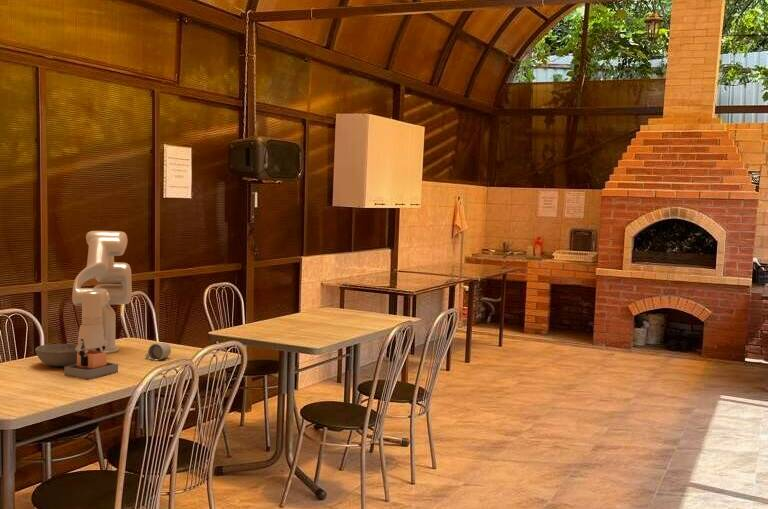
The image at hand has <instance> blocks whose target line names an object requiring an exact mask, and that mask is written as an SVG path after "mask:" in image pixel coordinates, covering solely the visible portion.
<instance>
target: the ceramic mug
mask: <svg viewBox="0 0 768 509" xmlns="http://www.w3.org/2000/svg"><path fill="white" fill-rule="evenodd" d="M171 351H172V348H171V346H170V345H169V343H167V342H158V343H157V342H156V343H152V344H151V345H150V346H149V348H148V349H147V354H145V355H144V357H145V359H150V360H152V361H154V360H155V359H158V361H161V360H163V359H166V358H168V357H169V356H170V355H171ZM148 357H150V358H148Z"/></svg>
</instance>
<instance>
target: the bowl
mask: <svg viewBox="0 0 768 509" xmlns="http://www.w3.org/2000/svg"><path fill="white" fill-rule="evenodd" d="M77 345H78V343H77V344H76V343H56V344H55V343H54V344H53V343H50V344H49V343H48V344H43V345H42V344H41V345H39V346H36V348H35V349H34V351H35V353H36V356H37V358H38V359H39V360H40V361H41V363H44V364H45V365H48V366H51V367H66V366H71V365H75V364H77V351H76V350H75V348H76V346H77Z"/></svg>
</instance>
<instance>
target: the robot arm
mask: <svg viewBox="0 0 768 509" xmlns="http://www.w3.org/2000/svg"><path fill="white" fill-rule="evenodd" d="M85 239H86V244H87V245H88V252H87V262H86V267H85V268H84V269H82V270H81V271H80V272H79V273H78V274H77V275H76V277H75V279H74V282H73V286H72V294H71V301H72V304H73V305H74V306H77V307H81V325H80V326H79V329H78V338H77V344H78V345H77V346H76V348H75V350H76V351H77V352H78V354H79V356H81V366H88V357H87V353H88V351H89V350H97V351H103V352H107V354H110V353H111V354H112V353H117V352H119V350H120V348H119V347H118V346H116V324H117V322H116V321H117V320H116V315H117V314H116V312H115V310H114V308H113V307H111V305H128V304H130V303H131V301H132V296H133V288H132V286H133V284H132V282H133V280H132V269H131V266H130V264H128V262H115V257H119V256H123V255H124V253H125V251H126V250H127V246H128V235H127V233H126V232H124V231H122V230H121V231H119V230H117V231H116V230H91V231H88V232H87V233H86V234H85ZM93 278H95V280H96V281H97V282H98V283H100V284H96V285H95V286H94V287H89V288H88V287H86V288H85V287H82V286H83V284H84V283H85V282H87V281H89V280H91V279H93ZM84 351H85V353H84Z"/></svg>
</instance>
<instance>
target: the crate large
mask: <svg viewBox="0 0 768 509" xmlns="http://www.w3.org/2000/svg"><path fill="white" fill-rule="evenodd" d="M63 368H64V370H63V371H64V376H65V377H70V376H72V377H71V378H76V377H78V378H77V379H82V378H84V380H88V379H90V380H94V379H98V378H102V377H104V375H105V376H109V375H113V374H117V373H119V364H118V363H114V362H107V366H105V367H101V368H97V369H87V368H81V367H77V363H76V364H74V365H70V366H63ZM116 372H117V373H116ZM112 373H113V374H112ZM108 374H109V375H108ZM101 376H102V377H101ZM97 377H98V378H97ZM93 378H94V379H93Z"/></svg>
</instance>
